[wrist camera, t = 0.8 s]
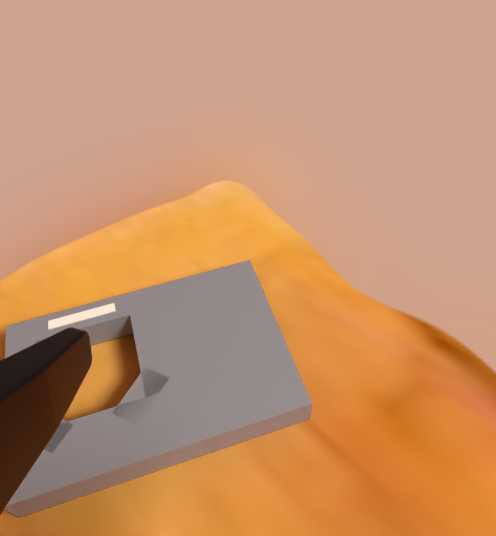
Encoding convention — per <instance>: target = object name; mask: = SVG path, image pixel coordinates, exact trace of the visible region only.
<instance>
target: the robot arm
mask: <svg viewBox="0 0 496 536" xmlns="http://www.w3.org/2000/svg"><path fill="white" fill-rule="evenodd" d="M91 362H92V353H91V345H90V337H89V334H88V332H87V331H84V330H81V329H77V328H73V327H69V328H66V329H64V330H62V331H60V332H58V333H56V334H54V335H52V336H50V337H48V338H46V339H44V340H42V341H39V342H37V343H35V344H33V345H31V346H29V347H27V348H25V349H23V350H21V351H19V352H17V353H15V354H13V355H11V356H9V357H7V358H5V359H3V360H1V361H0V514H1V513H2V511H3V510H4V508H5V507H6V505H7V504H8V502H9V501H10V499H11V498H12V496H13V495H14V493H15V492H16V490H17V489H18V487H19V486H20V485H21V483H22V482H23V480H24V479H25V477H26V476H27V474H28V473H29V471H30V470H31V468H32V467H33V465H34V464H35V462H36V461H37V459H38V458H39V456H40V455H41V453H42V452H43V450H44V449H45V447H46V446H47V444H48V443H49V441H50V440H51V438H52V437H53V435H54V433H55V432H56V430H57V429H58V427H59V425H60V423H61V421H62V420H63V418H64V416H65V414H66V412H67V410H68V408H69V406H70V404H71V403H72V401H73V399H74V397H75V395H76V393H77V391H78V389H79V387H80V385H81V383H82V382H83V380H84V378H85V376H86V374H87V372H88V370H89V368H90V366H91Z"/></svg>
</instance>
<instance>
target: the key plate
mask: <svg viewBox="0 0 496 536" xmlns="http://www.w3.org/2000/svg"><path fill="white" fill-rule="evenodd" d="M69 327H73V328H77V329H81V330H84V331H87V332H88V334H89V337H90V345H91V346H92V345H95V344H99V343H102V342H106V341H109V340H113V339H116V338H120V337H123V336H127V335H130V334H134V339H135V344H136V349H137V355H138V360H139V366H140V371H141V373H140V375H139V376H138V378H137V379H136V380H135V382H134V383H133V385H132V386H131V387H130V389H129V390H128V392H127V393H126V394H125V396H124V397H123V399H122V400H121V401H120V403H119V404H118V406H115V407H112V408H109V409H106V410H103V411H99V412H96V413H93V414H90V415H86V416H83V417H80V418H77V419H74V420H70V421H65V420H62V421H61V423H60V425H59V427H58V429H57V430H56V432H55V433H54V435H53V437H52V438H51V440H50V441H49V443H48V444H47V446H46V447H45V449H44V450H43V452H42V453H41V455H40V456H39V458H38V459H37V461H36V462H35V464H34V465H33V467H32V468H31V470H30V471H29V473H28V474H27V476H26V477H25V479H24V480H23V482H22V483H21V485H20V486H19V487H18V489H17V490H16V492H15V493H14V495H13V496H12V498H11V499H10V501H9V502H8V504H7V505H6V507H5V508H4V510H5V511H7V512H9V513H11V514H13V515H15V516H17V517H18V518H20V517H23V516H26V515H29V514H32V513H35V512H37V511H40V510H43V509H46V508H49V507H52V506H55V505H58V504H61V503H64V502H67V501H70V500H73V499H76V498H79V497H82V496H85V495H88V494H90V493H93V492H96V491H99V490H102V489H105V488H108V487H111V486H114V485H117V484H120V483H123V482H126V481H129V480H132V479H135V478H138V477H141V476H143V475H146V474H149V473H152V472H155V471H158V470H161V469H164V468H167V467H170V466H173V465H176V464H179V463H182V462H185V461H188V460H191V459H194V458H196V457H199V456H202V455H205V454H208V453H211V452H214V451H217V450H220V449H223V448H226V447H229V446H232V445H235V444H238V443H241V442H244V441H247V440H249V439H252V438H255V437H258V436H261V435H264V434H267V433H270V432H273V431H276V430H279V429H282V428H285V427H288V426H291V425H294V424H297V423H300V422H303V421H305V420H308V419H310V415H311V409H312V402H311V400H310V397H309V395H308V393H307V391H306V388H305V386H304V384H303V381H302V379H301V377H300V374H299V372H298V370H297V368H296V365H295V363H294V361H293V358H292V356H291V354H290V352H289V349H288V347H287V345H286V342H285V340H284V338H283V335H282V333H281V331H280V329H279V326H278V324H277V322H276V319H275V317H274V315H273V313H272V310H271V308H270V306H269V303H268V301H267V299H266V296H265V294H264V292H263V290H262V287H261V285H260V283H259V280H258V278H257V276H256V273H255V271H254V269H253V267H252V264H251V262H250V260H248V261H245V262H241V263H237V264H234V265H230V266H226V267H222V268H219V269H215V270H211V271H208V272H204V273H200V274H197V275H193V276H189V277H186V278H182V279H178V280H174V281H171V282H167V283H163V284H160V285H156V286H152V287H149V288H145V289H141V290H138V291H134V292H130V293H126V294H123V295H119V296H115V297H112V298H108V299H104V300H101V301H97V302H93V303H90V304H86V305H82V306H79V307H75V308H71V309H67V310H64V311H60V312H56V313H53V314H49V315H45V316H42V317H38V318H34V319H31V320H27V321H23V322H19V323H16V324H12V325H8V326H6V336H5V358H7V357H9V356H11V355H13V354H15V353H17V352H19V351H21V350H23V349H25V348H27V347H29V346H31V345H33V344H35V343H37V342H39V341H42V340H44V339H46V338H48V337H50V336H52V335H54V334H56V333H58V332H60V331H62V330H64V329H66V328H69Z"/></svg>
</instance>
